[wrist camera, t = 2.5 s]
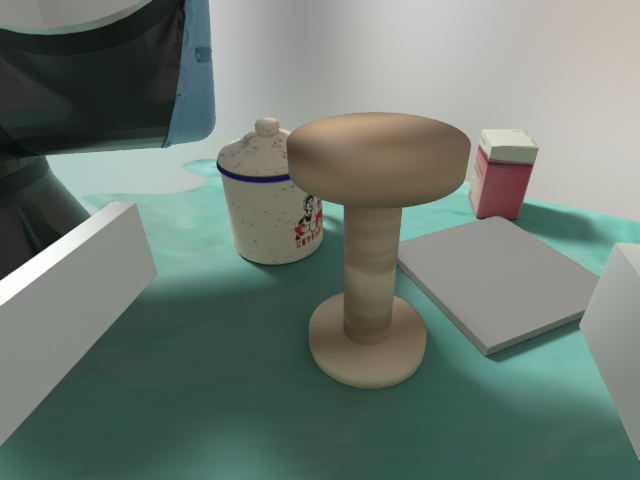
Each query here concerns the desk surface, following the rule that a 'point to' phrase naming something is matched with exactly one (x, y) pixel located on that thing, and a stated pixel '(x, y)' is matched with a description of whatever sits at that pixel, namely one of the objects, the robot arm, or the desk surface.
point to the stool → (373, 232)
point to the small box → (502, 173)
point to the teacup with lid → (267, 199)
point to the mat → (497, 281)
